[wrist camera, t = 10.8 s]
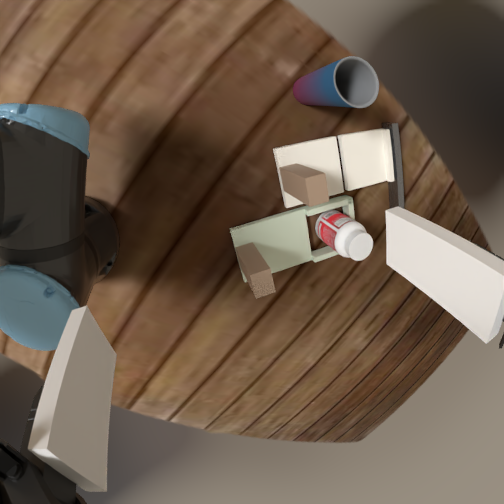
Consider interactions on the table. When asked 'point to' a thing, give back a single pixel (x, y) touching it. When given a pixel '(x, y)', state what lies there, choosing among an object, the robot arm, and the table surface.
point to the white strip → (366, 158)
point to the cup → (339, 85)
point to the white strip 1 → (309, 171)
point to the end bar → (395, 167)
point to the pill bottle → (344, 235)
